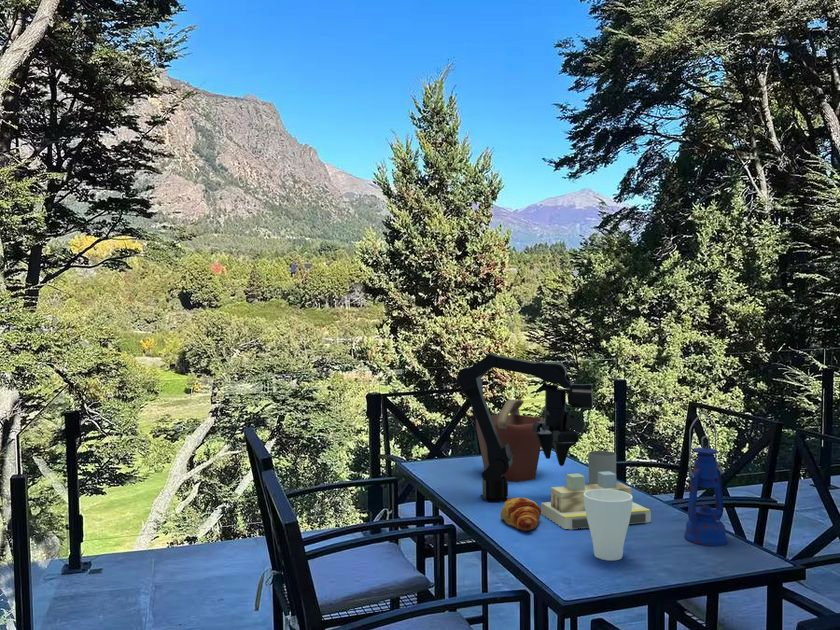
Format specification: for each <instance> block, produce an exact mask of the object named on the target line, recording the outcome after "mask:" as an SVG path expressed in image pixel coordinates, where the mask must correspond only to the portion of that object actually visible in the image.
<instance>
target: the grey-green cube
mask: <svg viewBox="0 0 840 630" xmlns="http://www.w3.org/2000/svg"><path fill="white" fill-rule="evenodd" d="M565 474H566V473H565ZM585 479H586V477H585V476H584V475H582V474H581V473H579V472H578V473H567V474H566V476H565V486H566V488H568V489H570V490H572V491H578V490H585V485H586V483H585V482H586V480H585Z"/></svg>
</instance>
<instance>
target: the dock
mask: <svg viewBox="0 0 840 630" xmlns="http://www.w3.org/2000/svg"><path fill="white" fill-rule="evenodd" d="M540 509H541V514H540V515H542V516H544V517H545V516H546V517H545V518H546V519H548V518H549V519H548V520H550V521H551V520H552V521H551V522H553V523H554V522H555V523H554V524H556V525H557V524H558V525H557V526H559V527H560V526H561V527H562V529H563V528H564V529H569V530H578V528H579V529H580V528H581V529H590V528H589V525H588V521H587V516H586V511H578V512H565V513H561V512H559V510H556V509H555V508H553V507H551V501H547V502H541V503H540ZM651 513H652V511H651V509H649V508H648V507H647V508H646V507H644V506H642V505H641V504H638V503H636V502H634V501H632V511H631V516H630V521H629V525H635V524H636V525H637V524H645V523H647V524H648V523H651V522H652V521H651V520H652V519H651V518H652V516H651V515H652V514H651ZM561 527H560V528H561ZM564 529H563V530H564Z"/></svg>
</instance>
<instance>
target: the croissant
mask: <svg viewBox="0 0 840 630" xmlns="http://www.w3.org/2000/svg"><path fill="white" fill-rule="evenodd" d="M541 515H542V514H541V506H539V505H538V504H537V503H536V501H534V500H531V499H529V498H526V497H510V498H509V497H508V499H507V501H504V504H503V505H502V508H501V510H500V519H501V520H503V521H504V522H505V523H506V524H507V525H509V526H511V527H513V528H516V529H517V530H520V531H524V532H525V531H531V530H534V529H536V527H537V525H538V524H539V522H540V517H541Z"/></svg>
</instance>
